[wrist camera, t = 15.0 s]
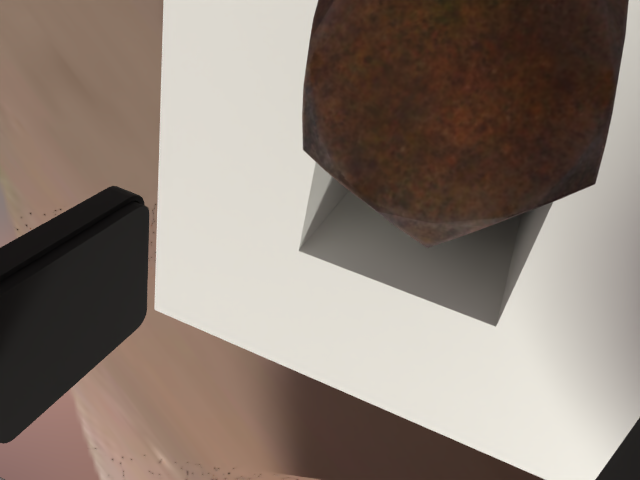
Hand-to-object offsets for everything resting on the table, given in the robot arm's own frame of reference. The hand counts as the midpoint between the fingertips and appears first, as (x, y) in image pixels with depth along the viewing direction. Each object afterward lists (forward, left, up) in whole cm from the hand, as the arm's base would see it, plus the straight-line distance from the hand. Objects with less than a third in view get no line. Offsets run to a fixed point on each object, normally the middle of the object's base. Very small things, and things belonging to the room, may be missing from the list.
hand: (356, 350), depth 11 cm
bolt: (0, +1, -16) cm, 16 cm away
